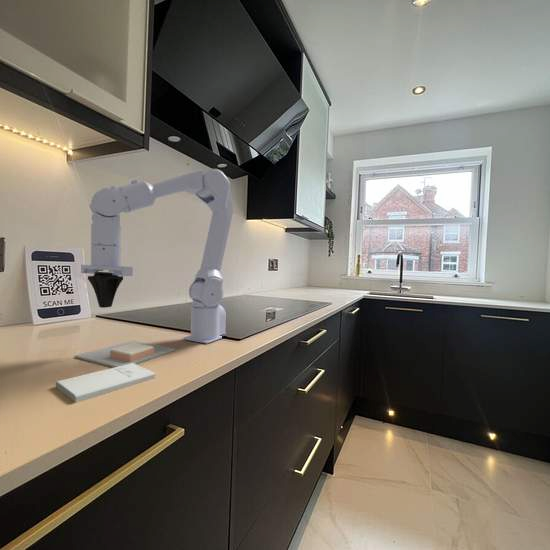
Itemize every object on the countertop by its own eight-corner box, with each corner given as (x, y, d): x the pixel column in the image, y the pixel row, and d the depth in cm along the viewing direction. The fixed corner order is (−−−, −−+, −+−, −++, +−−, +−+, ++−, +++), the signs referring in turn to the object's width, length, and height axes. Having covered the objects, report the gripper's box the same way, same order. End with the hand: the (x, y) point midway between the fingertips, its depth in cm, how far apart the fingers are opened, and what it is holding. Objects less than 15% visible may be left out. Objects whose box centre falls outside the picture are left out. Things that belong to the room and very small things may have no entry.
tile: (134, 342, 67) (154, 346, 64) (134, 349, 67) (154, 353, 65) (110, 349, 62) (130, 354, 59) (110, 357, 62) (130, 361, 59)
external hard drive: (55, 390, 48) (132, 369, 58) (75, 406, 43) (155, 381, 53) (55, 380, 48) (132, 361, 58) (75, 395, 43) (155, 372, 53)
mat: (132, 342, 75) (132, 340, 75) (175, 350, 69) (175, 348, 69) (74, 357, 62) (74, 355, 62) (121, 369, 56) (121, 367, 56)
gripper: (67, 244, 65) (66, 306, 66) (111, 244, 59) (110, 312, 60) (97, 246, 72) (97, 302, 72) (141, 247, 66) (140, 308, 66)
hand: (105, 307), depth 66 cm, fingers closed
